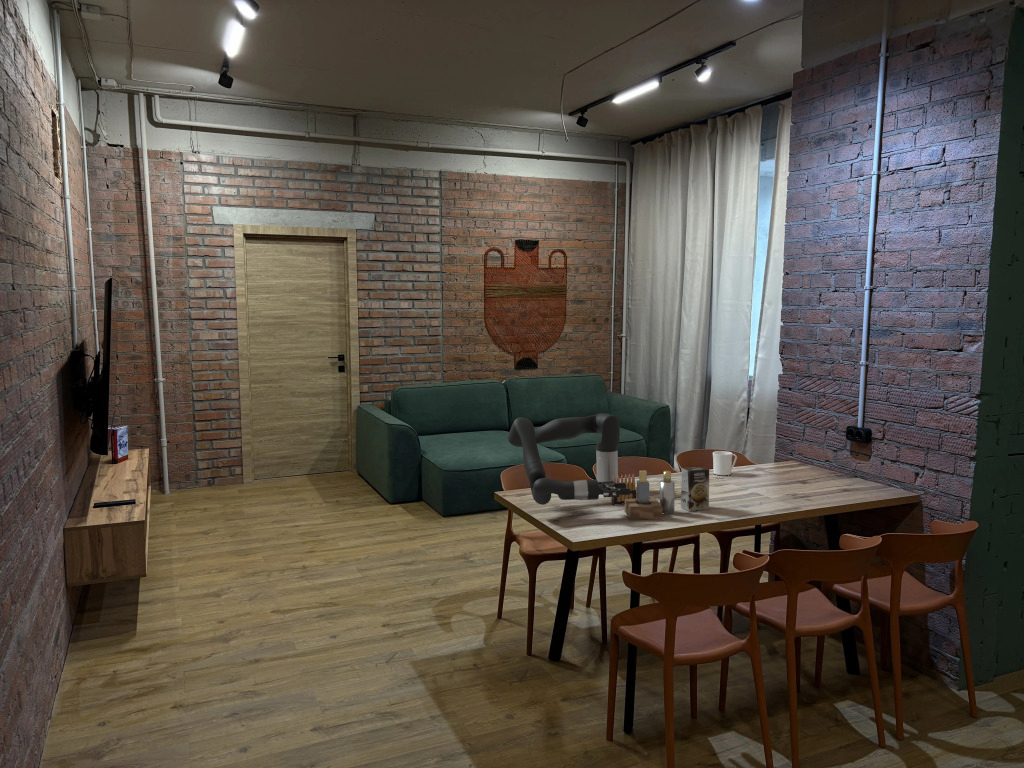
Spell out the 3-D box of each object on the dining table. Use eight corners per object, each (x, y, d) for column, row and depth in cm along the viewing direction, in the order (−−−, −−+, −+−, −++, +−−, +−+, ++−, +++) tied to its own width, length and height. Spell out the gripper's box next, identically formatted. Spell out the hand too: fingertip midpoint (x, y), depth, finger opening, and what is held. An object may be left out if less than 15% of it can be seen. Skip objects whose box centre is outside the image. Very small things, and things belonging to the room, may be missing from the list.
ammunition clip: (634, 501, 296) (634, 472, 295) (636, 502, 294) (636, 473, 293) (611, 504, 292) (611, 475, 291) (613, 505, 290) (613, 476, 289)
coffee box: (688, 511, 278) (689, 470, 277) (680, 507, 285) (680, 467, 283) (709, 509, 281) (709, 468, 279) (700, 505, 287) (701, 465, 286)
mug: (712, 476, 337) (712, 454, 336) (712, 471, 345) (712, 450, 344) (736, 477, 333) (737, 455, 332) (736, 472, 342) (736, 451, 341)
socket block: (624, 511, 281) (624, 498, 281) (655, 510, 281) (655, 497, 281) (630, 520, 269) (630, 507, 269) (662, 519, 269) (662, 506, 269)
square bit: (636, 511, 277) (636, 470, 276) (647, 510, 277) (647, 469, 276) (638, 513, 273) (638, 472, 272) (649, 513, 273) (649, 472, 272)
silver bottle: (658, 510, 281) (658, 470, 280) (672, 510, 281) (672, 469, 280) (661, 514, 276) (661, 473, 274) (676, 514, 276) (676, 473, 274)
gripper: (583, 494, 281) (624, 493, 281) (588, 504, 267) (631, 503, 267) (583, 475, 280) (624, 474, 280) (587, 485, 266) (631, 483, 266)
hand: (628, 488), depth 274 cm, fingers open, 8 cm apart
